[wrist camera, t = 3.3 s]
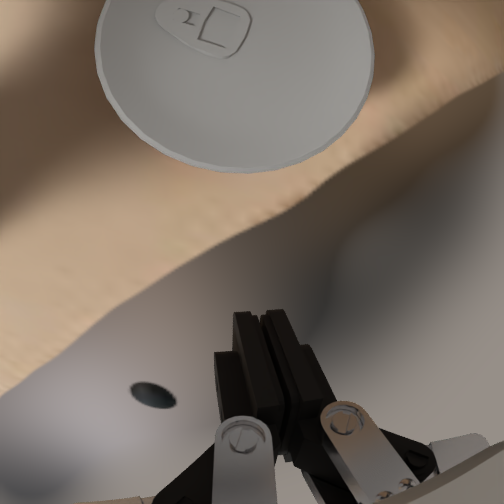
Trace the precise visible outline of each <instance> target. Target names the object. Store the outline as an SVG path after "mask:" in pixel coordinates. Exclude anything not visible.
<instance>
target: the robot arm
mask: <svg viewBox="0 0 504 504" xmlns="http://www.w3.org/2000/svg"><path fill="white" fill-rule="evenodd" d="M214 369H215V383H216V392H217V398H218V406H219V413H220V420H221V425H220V426H219V427H218V429H217V431H216V435H215V443H214V444H213V445H212V446H211V447H209V448H208V449H207V450H206V451H205V452H204V453H203V454H202V455H201V456H200V457H199V458H198V459H197V460H196V461H195V462H194V463H192V464H191V465H190V466H189V467H188V468H187V469H186V470H184V471H183V472H182V473H181V474H180V475H179V476H178V477H177V478H175V479H174V480H173V481H172V482H171V483H170V484H169V485H167V486H166V487H165V488H164V489H163V490H161V491H160V492H159V493H158V494H157V495H156V496H152V497H147V498H140V496H138V497H132V498H124V499H116V500H107V501H96V502H80V503H74V504H277V494H276V482H275V469H274V467H275V463H276V459H277V456H278V455H283V456H284V459H285V462H291V461H293V464H294V466H295V467H297V468H299V469H301V472H302V475H303V477H304V479H305V481H306V483H307V484H308V487H309V488H310V490H311V492H312V494H313V496H314V497H315V499H316V501H317V503H318V504H504V441H502V442H499V443H497V444H494V445H492V446H489V443H488V442H487V440H486V438H484V437H483V436H482V435H480V434H476V433H473V434H467V435H463V436H459V437H454V438H450V439H445V440H441V441H435V442H430V444H429V445H424V444H422V443H419V442H417V441H414V440H411V439H408V438H405V437H402V436H399V435H397V434H394V433H391V432H388V431H386V430H383V429H380V428H378V427H377V425H376V424H375V423H374V421H373V420H372V419H371V418H370V416H369V415H368V413H367V412H366V411H365V410H364V409H363V408H362V407H361V406H359V405H357V404H356V403H353V402H349V401H337V400H336V398H335V396H334V394H333V392H332V389H331V387H330V385H329V383H328V381H327V379H326V377H325V375H324V373H323V371H322V369H321V367H320V365H319V363H318V361H317V358H316V357H315V354H314V353H313V350H312V348H311V347H310V345H308V344H305V345H300V344H299V342H298V340H297V338H296V335H295V333H294V331H293V329H292V326H291V324H290V322H289V320H288V318H287V316H286V313H285V311H284V310H283V309H278V310H267V311H266V315H261V318H260V323H259V320H258V317H257V315H252V314H251V312H250V311H247V312H234V314H233V347H232V351H226V352H214Z"/></svg>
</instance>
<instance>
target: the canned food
mask: <svg viewBox="0 0 504 504" xmlns="http://www.w3.org/2000/svg"><path fill="white" fill-rule="evenodd" d="M94 50H95V59H96V67H97V74H98V77H99V79H100V82H101V85H102V87H103V90H104V93H105V95H106V98H107V99H108V101H109V102H110V104H111V105H112V107H113V108H114V110H115V111H116V113H117V114H118V116H119V117H120V119H121V120H122V121H123V122H124V123H125V124H126V125H127V126H128V127H129V128H130V129H131V130H132V131H133V132H134V133H135V134H136V135H137V136H138V137H139V138H140V139H141V140H143V141H145V142H146V143H148V144H149V145H151V146H152V147H154V148H155V149H157V150H158V151H160V152H162V153H163V154H165V155H167V156H169V157H172V158H174V159H176V160H179V161H181V162H184V163H186V164H188V165H191V166H194V167H199V168H204V169H208V170H213V171H217V172H227V173H247V174H249V173H257V172H265V171H274V170H278V169H281V168H285V167H288V166H291V165H294V164H298V163H301V162H303V161H305V160H307V159H309V158H310V157H312V156H314V155H316V154H318V153H320V152H322V151H324V150H325V149H326V148H327V147H329V146H330V145H331V144H332V143H334V142H335V141H336V140H337V139H339V138H340V137H341V136H342V135H343V134H344V133H345V132H346V130H347V129H348V128H349V127H350V126H351V124H352V123H353V122H354V121H355V120H356V118H357V117H358V115H359V113H360V111H361V109H362V107H363V105H364V103H365V101H366V100H367V97H368V94H369V90H370V87H371V83H372V79H373V73H374V58H375V54H374V46H373V39H372V32H371V30H370V27H369V24H368V21H367V18H366V15H365V13H364V10H363V8H362V7H361V5H360V3H359V1H358V0H106V2H105V4H104V7H103V9H102V12H101V15H100V17H99V20H98V23H97V30H96V37H95V46H94Z"/></svg>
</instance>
